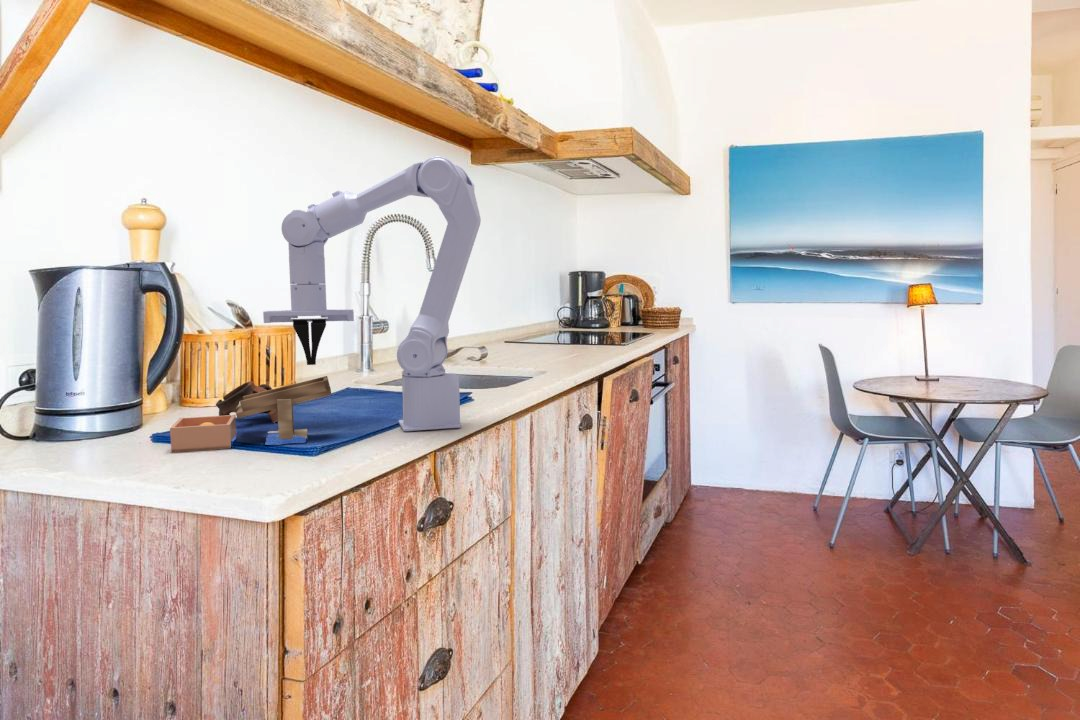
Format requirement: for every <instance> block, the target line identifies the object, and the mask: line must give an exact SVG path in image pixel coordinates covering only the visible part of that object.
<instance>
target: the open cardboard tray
mask: <svg viewBox="0 0 1080 720" xmlns="http://www.w3.org/2000/svg"><path fill="white" fill-rule="evenodd" d="M236 419H237V416H236V414H230V415H225V416H219V415H212V416H210V415H209V416H193V417H180V418H178V419H177V420H176V421H175V422H174V423H173V424H172V425H171V427H170V428H169V434H170V448H171V452H170V453H171V454H172V453H183V452H199V451H212V450H213V451H215V450H228V449H229V450H230V449H232V448H231V441H232V439H233V438H234V436H235V435H236V434H237V420H236ZM205 422H210V423H213V424H214V425H205V426H199V425H201V424H202V423H205Z"/></svg>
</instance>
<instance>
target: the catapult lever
mask: <svg viewBox="0 0 1080 720" xmlns="http://www.w3.org/2000/svg"><path fill="white" fill-rule="evenodd" d="M329 396H332V389H331V386H330V380H329V377H328V375H325V376H320V377H317V378H313V379H308V380H304V381H300V382H297V383H293V384H289V385H288V384H287V385H284V386H281V387H276V388H272V389H271V390H267V391H263V392H259V393H255V394H251V395H247V396H243V400H242V401H240V402H239V405H238V406H237V408H236V411H237V412H236V413H235V415H236V419H241V418H245V417H249V416H253V415H258V414H260V413H261V412H265V411H269V410H273V409H277V400H278V399H291V405H293V406H294V405H297V404H302V403H306V402H309V401H313V400H316V399H320V398H323V397H329Z"/></svg>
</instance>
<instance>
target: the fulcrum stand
mask: <svg viewBox="0 0 1080 720" xmlns="http://www.w3.org/2000/svg"><path fill="white" fill-rule="evenodd" d="M277 409H278V422H277V425H278V428H277V429H278V430H274V431H273V430H271V431H267V433H278V434H279V439H293V435H294V436H295V435H296V436H300V437H301V436H302V437H305V438H307V439H308V428H304V429H295V423H294V421H295V419H294V417H295V416H294V404H293V405H291V399H278V400H277Z"/></svg>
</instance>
